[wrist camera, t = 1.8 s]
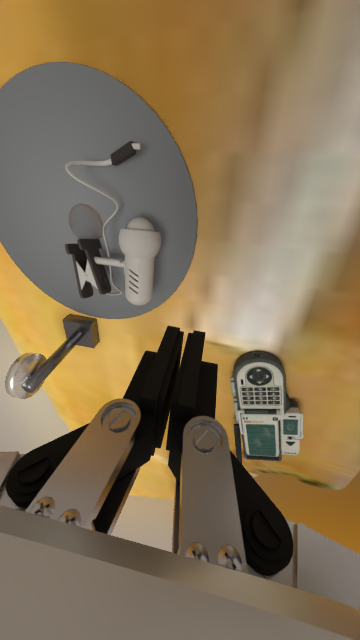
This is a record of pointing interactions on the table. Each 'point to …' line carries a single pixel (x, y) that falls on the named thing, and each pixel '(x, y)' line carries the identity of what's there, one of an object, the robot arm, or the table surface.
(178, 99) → the table surface
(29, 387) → the square-base wall hook
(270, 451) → the communication device
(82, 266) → the clip-on lamp
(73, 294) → the mat
